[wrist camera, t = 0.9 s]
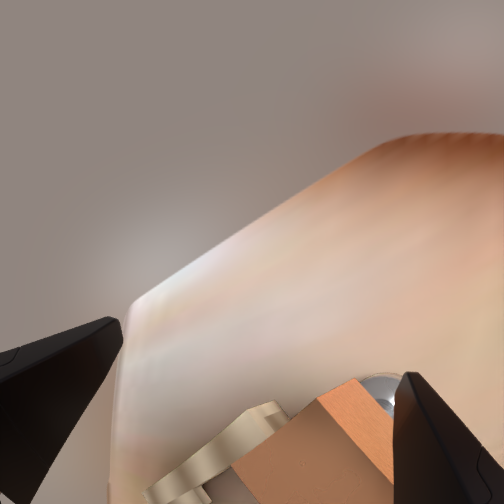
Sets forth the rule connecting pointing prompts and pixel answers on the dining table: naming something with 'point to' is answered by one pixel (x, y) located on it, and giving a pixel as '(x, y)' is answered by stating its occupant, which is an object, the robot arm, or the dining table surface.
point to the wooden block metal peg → (329, 449)
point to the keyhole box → (217, 456)
